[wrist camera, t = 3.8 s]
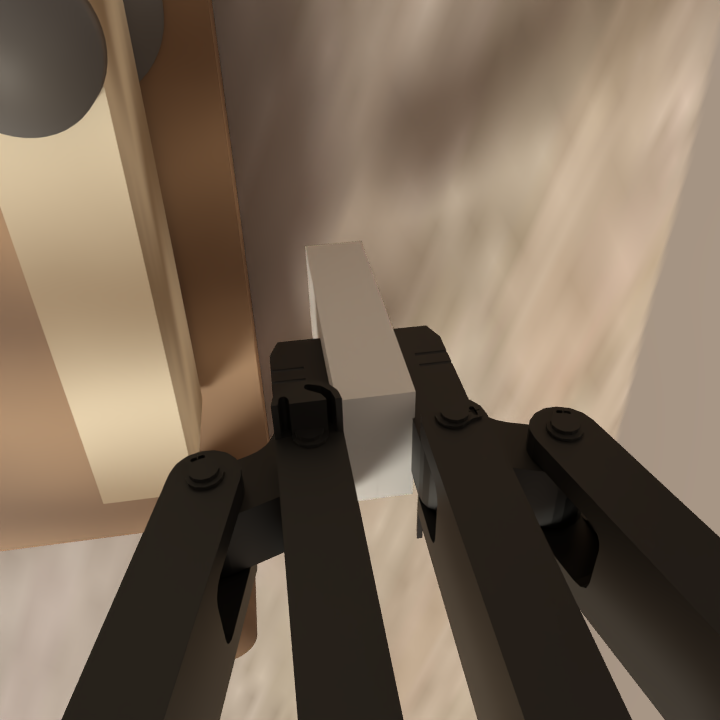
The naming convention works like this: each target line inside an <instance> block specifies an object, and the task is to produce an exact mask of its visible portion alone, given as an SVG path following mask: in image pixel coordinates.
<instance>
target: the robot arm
mask: <svg viewBox="0 0 720 720" xmlns="http://www.w3.org/2000/svg"><path fill="white" fill-rule="evenodd" d="M305 251H306V263H307V276H308V289H309V302H310V315H311V328H312V336H313V339H307V340H297V341H288V342H278V343H277V345H276V346H275V348H274V350H273V351H272V353H271V355H270V365H271V378H272V391H273V399H272V403H271V411H272V419H273V426H274V434H273V436H272V438H271V440H270V441H269V442H268V443H267V444H266V446H264V447H263V448H261V449H260V450H259V451H257V452H255V453H253V454H251V455H249V456H246V457H244V458H241V459H238V460H237V459H236V458H235V457H233V456H231V455H230V454H228V453H227V452H221V451H216V450H210V451H200V452H197V453H195V454H192V455H189V456H187V457H185V458H184V459H182V460H181V461H180V462H178V463H177V464H176V465H175V466H174V467H173V469H172V470H171V472H170V473H169V475H168V477H167V480H166V482H165V484H164V486H163V489H162V491H161V493H160V496H159V498H158V500H157V502H156V505H155V507H154V509H153V512H152V514H151V516H150V518H149V521H148V523H147V525H146V528H145V530H144V532H143V534H142V537H141V539H140V541H139V544H138V546H137V548H136V550H135V553H134V555H133V557H132V560H131V562H130V564H129V566H128V569H127V571H126V573H125V576H124V578H123V580H122V582H121V585H120V587H119V589H118V592H117V594H116V596H115V598H114V601H113V603H112V605H111V608H110V610H109V612H108V614H107V617H106V619H105V621H104V624H103V626H102V628H101V630H100V633H99V635H98V637H97V640H96V642H95V644H94V646H93V649H92V651H91V653H90V656H89V658H88V660H87V662H86V665H85V667H84V669H83V672H82V674H81V676H80V678H79V681H78V683H77V685H76V688H75V690H74V692H73V694H72V697H71V699H70V701H69V704H68V706H67V708H66V710H65V713H64V715H63V717H62V720H220V716H221V712H222V708H223V704H224V700H225V696H226V692H227V688H228V684H229V680H230V676H231V672H232V668H233V664H234V660H235V656H236V652H237V648H238V644H239V640H240V636H241V632H242V628H243V624H244V620H245V616H246V612H247V608H248V604H249V600H250V596H251V592H252V588H253V584H254V580H255V576H256V572H257V564H258V563H261V562H263V561H265V560H268V559H270V558H272V557H274V556H277V555H279V554H281V553H283V552H284V554H285V567H286V579H287V591H288V604H289V616H290V628H291V641H292V653H293V666H294V678H295V690H296V703H297V715H298V720H403V715H402V711H401V706H400V701H399V696H398V691H397V686H396V682H395V677H394V672H393V667H392V662H391V657H390V653H389V648H388V643H387V638H386V633H385V628H384V624H383V619H382V614H381V609H380V604H379V599H378V595H377V590H376V585H375V580H374V575H373V570H372V566H371V561H370V556H369V551H368V546H367V541H366V537H365V532H364V527H363V522H362V517H361V512H360V508H359V503H358V501H362V500H370V499H377V498H385V497H392V496H400V495H407V494H413V479H414V482H415V485H416V488H417V492H418V508H417V538H422V531H423V533H424V536H425V540H426V543H427V546H428V550H429V553H430V557H431V560H432V564H433V567H434V571H435V574H436V578H437V581H438V584H439V588H440V591H441V595H442V598H443V602H444V605H445V609H446V612H447V615H448V619H449V622H450V626H451V629H452V633H453V636H454V640H455V643H456V646H457V650H458V653H459V657H460V660H461V664H462V667H463V671H464V674H465V677H466V681H467V684H468V688H469V691H470V695H471V698H472V702H473V705H474V708H475V712H476V715H477V719H478V720H632V719H631V717H630V715H629V713H628V711H627V708H626V706H625V704H624V702H623V700H622V698H621V696H620V693H619V691H618V689H617V687H616V685H615V683H614V681H613V679H612V677H611V674H610V672H609V670H608V668H607V666H606V664H605V662H604V660H603V658H602V656H601V653H600V651H599V649H598V647H597V645H596V643H595V641H594V639H593V637H592V634H591V632H590V630H589V628H588V626H587V624H586V622H585V620H584V618H583V615H584V616H585V617H586V618H587V620H588V621H589V622H590V624H591V625H592V626H593V627H594V629H595V630H596V631H597V633H598V634H599V635H600V636H601V638H602V639H603V640H604V642H605V643H606V644H607V645H608V647H609V648H610V649H611V651H612V652H613V653H614V655H615V656H616V657H617V658H618V660H619V661H620V662H621V663H622V665H623V666H624V667H625V669H626V670H627V671H628V672H629V674H630V675H631V676H632V678H633V679H634V680H635V682H636V683H637V684H638V686H639V687H640V688H641V689H642V691H643V692H644V693H645V695H646V696H647V697H648V698H649V700H650V701H651V702H652V704H653V705H654V706H655V707H656V709H657V710H658V711H659V713H660V714H661V715H662V717H663V718H664V719H665V720H720V537H719V536H718V535H717V534H715V533H714V532H713V531H712V530H711V529H710V528H709V527H708V526H707V525H706V524H705V523H704V522H703V521H701V520H700V519H699V518H698V517H697V516H696V515H695V514H694V513H693V512H692V511H691V510H690V509H689V508H687V507H686V506H685V505H684V504H683V503H682V502H681V501H680V500H679V499H678V498H677V497H675V496H674V495H673V494H672V493H671V492H670V491H669V490H668V489H667V488H666V487H665V486H664V485H663V484H661V483H660V482H659V481H658V480H657V479H656V478H655V477H654V476H653V475H652V474H651V473H649V471H648V470H646V469H645V468H644V467H643V466H642V465H641V464H640V463H639V462H638V461H637V460H636V459H635V458H634V457H633V456H631V455H630V454H629V453H628V452H627V451H626V450H625V449H624V448H623V447H622V446H621V445H620V444H619V443H617V442H616V441H615V440H614V439H613V438H612V437H611V436H610V435H609V434H608V433H607V432H606V431H605V430H603V429H602V428H601V427H600V426H599V425H598V424H597V423H596V422H595V421H594V420H593V419H591V418H590V417H588V416H587V415H585V414H584V413H582V412H579V411H576V410H574V409H571V408H564V407H551V408H544V409H542V410H540V411H538V412H536V413H535V414H534V415H533V417H532V418H531V419H530V422H529V425H527V424H518V423H509V422H503V421H498V420H495V419H492V418H489V417H488V415H487V413H486V412H485V411H484V410H483V408H482V407H481V406H480V405H478V404H476V403H475V402H473V401H471V400H469V399H468V397H467V395H466V392H465V390H464V388H463V386H462V384H461V381H460V379H459V377H458V375H457V373H456V370H455V368H454V366H453V364H452V363H451V360H450V357H449V355H448V353H447V352H446V349H445V346H444V344H443V342H442V340H441V338H440V336H439V335H437V334H436V333H435V332H434V331H432V330H431V329H430V328H429V327H427V326H417V327H407V328H398V329H393V327H392V324H391V322H390V319H389V316H388V313H387V311H386V308H385V305H384V302H383V299H382V297H381V294H380V291H379V288H378V286H377V283H376V280H375V277H374V274H373V272H372V269H371V266H370V263H369V261H368V258H367V255H366V252H365V249H364V247H363V244H362V241H355V242H344V243H333V244H322V245H311V246H305ZM581 612H582V613H583V615H582V613H581Z"/></svg>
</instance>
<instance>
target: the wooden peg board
mask: <svg viewBox="0 0 720 720" xmlns="http://www.w3.org/2000/svg"><path fill="white" fill-rule="evenodd" d="M123 3H124V8H125V13H126V18H127V23H128V28H129V33H130V38H131V43H132V48H133V54H134V59H135V64H136V69H137V74H138V79H139V84H140V89H141V94H142V99H143V104H144V109H145V114H146V119H147V124H148V129H149V134H150V139H151V144H152V149H153V154H154V159H155V164H156V169H157V174H158V179H159V184H160V189H161V194H162V199H163V204H164V209H165V214H166V219H167V224H168V229H169V234H170V239H171V244H172V249H173V254H174V259H175V264H176V269H177V274H178V279H179V284H180V289H181V294H182V299H183V304H184V309H185V314H186V319H187V324H188V329H189V334H190V339H191V344H192V349H193V354H194V359H195V364H196V369H197V374H198V379H199V384H200V389H201V395H202V415H201V432H200V449H199V452H200V451H210V450H216V451H221V452H227V453H228V454H230V455H231V456H233V457H235V458H236V459H237V460H238V459H241V458H244V457H246V456H249V455H251V454H253V453H255V452H257V451H259V450H260V449H261V448H263V447H264V446H266V444H267V443H268V442H269V441H270V439H269V432H268V424H267V416H266V409H265V401H264V394H263V386H262V378H261V371H260V363H259V356H258V348H257V340H256V333H255V325H254V318H253V310H252V302H251V295H250V287H249V280H248V272H247V264H246V257H245V249H244V241H243V234H242V226H241V219H240V211H239V203H238V196H237V188H236V181H235V173H234V165H233V158H232V150H231V143H230V135H229V127H228V120H227V112H226V105H225V97H224V89H223V82H222V74H221V67H220V59H219V51H218V44H217V36H216V29H215V21H214V13H213V6H212V0H123ZM158 498H159V497H155V498H147V499H139V500H131V501H123V502H115V503H107V504H103V501H102V498H101V495H100V492H99V489H98V486H97V484H96V481H95V478H94V475H93V472H92V469H91V466H90V463H89V461H88V458H87V455H86V452H85V449H84V446H83V443H82V440H81V438H80V435H79V432H78V429H77V426H76V423H75V420H74V417H73V415H72V412H71V409H70V406H69V403H68V400H67V397H66V394H65V392H64V389H63V386H62V383H61V380H60V377H59V374H58V371H57V369H56V366H55V363H54V360H53V357H52V354H51V351H50V349H49V346H48V343H47V340H46V337H45V334H44V331H43V328H42V326H41V323H40V320H39V317H38V314H37V311H36V308H35V305H34V303H33V300H32V297H31V294H30V291H29V288H28V285H27V282H26V280H25V277H24V274H23V271H22V268H21V265H20V262H19V259H18V257H17V254H16V251H15V248H14V245H13V242H12V239H11V236H10V234H9V231H8V228H7V225H6V222H5V219H4V216H3V213H2V211H1V208H0V551H6V550H14V549H21V548H29V547H37V546H44V545H52V544H60V543H68V542H75V541H83V540H91V539H98V538H106V537H114V536H121V535H129V534H137V533H143V532H144V530H145V528H146V525H147V523H148V521H149V518H150V516H151V514H152V512H153V509H154V507H155V505H156V502H157V500H158ZM256 639H257V614H256V582H255V580H254V584H253V588H252V592H251V596H250V600H249V604H248V608H247V612H246V616H245V620H244V624H243V628H242V632H241V636H240V640H239V644H238V648H237V652H236V656H235V659H236V658H238V657H240V656H242V655H243V654H245V653H246V652H248V651H249V650H250V649H251V648H252V646H253V645H254V643H255V642H256Z"/></svg>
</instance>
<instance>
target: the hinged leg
mask: <svg viewBox="0 0 720 720" xmlns="http://www.w3.org/2000/svg"><path fill="white" fill-rule="evenodd" d="M0 208H1V211H2V213H3V216H4V219H5V222H6V225H7V228H8V231H9V234H10V236H11V239H12V242H13V245H14V248H15V251H16V254H17V257H18V259H19V262H20V265H21V268H22V271H23V274H24V277H25V280H26V282H27V285H28V288H29V291H30V294H31V297H32V300H33V303H34V305H35V308H36V311H37V314H38V317H39V320H40V323H41V326H42V328H43V331H44V334H45V337H46V340H47V343H48V346H49V349H50V351H51V354H52V357H53V360H54V363H55V366H56V369H57V371H58V374H59V377H60V380H61V383H62V386H63V389H64V392H65V394H66V397H67V400H68V403H69V406H70V409H71V412H72V415H73V417H74V420H75V423H76V426H77V429H78V432H79V435H80V438H81V440H82V443H83V446H84V449H85V452H86V455H87V458H88V461H89V463H90V466H91V469H92V472H93V475H94V478H95V481H96V484H97V486H98V489H99V492H100V495H101V498H102V501H103V504H107V503H115V502H123V501H131V500H139V499H147V498H155V497H159V496H160V493H161V491H162V489H163V486H164V484H165V482H166V480H167V477H168V475H169V473H170V472H171V470H172V469H173V467H174V466H175V465H176V464H177V463H178V462H180V461H181V460H182V459H184V458H185V457H187V456H189V455H192V454H195V453H197V452H199V449H200V432H201V415H202V395H201V389H200V384H199V379H198V374H197V369H196V364H195V359H194V354H193V349H192V344H191V339H190V334H189V329H188V324H187V319H186V314H185V309H184V304H183V299H182V294H181V289H180V284H179V279H178V274H177V269H176V264H175V259H174V254H173V249H172V244H171V239H170V234H169V229H168V224H167V219H166V214H165V209H164V204H163V199H162V194H161V189H160V184H159V179H158V174H157V169H156V164H155V159H154V154H153V149H152V144H151V139H150V134H149V129H148V124H147V119H146V114H145V109H144V104H143V99H142V94H141V89H140V84H139V79H138V74H137V69H136V64H135V59H134V54H133V48H132V43H131V38H130V33H129V28H128V23H127V18H126V13H125V8H124V3H123V0H0Z"/></svg>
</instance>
